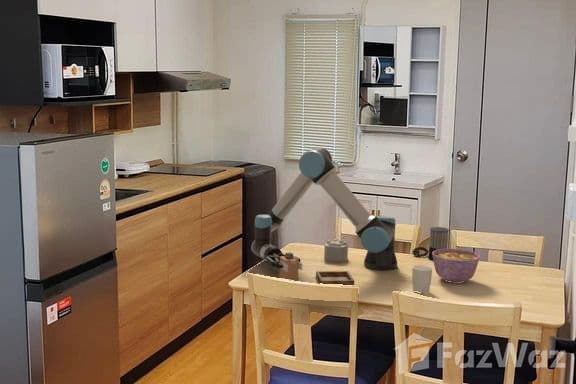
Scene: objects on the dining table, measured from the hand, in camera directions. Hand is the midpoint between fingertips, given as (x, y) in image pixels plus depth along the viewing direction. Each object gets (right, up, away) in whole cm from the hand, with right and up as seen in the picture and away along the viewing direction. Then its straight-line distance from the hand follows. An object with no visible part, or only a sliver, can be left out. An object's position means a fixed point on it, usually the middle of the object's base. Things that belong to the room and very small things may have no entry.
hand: (294, 267), depth 301 cm
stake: (-2, -5, +6) cm, 8 cm away
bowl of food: (+69, -7, +8) cm, 70 cm away
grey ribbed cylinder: (+65, 0, +45) cm, 79 cm away
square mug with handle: (-2, -5, +6) cm, 8 cm away
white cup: (+51, -9, -9) cm, 53 cm away
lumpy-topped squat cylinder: (+20, 0, +40) cm, 45 cm away
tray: (+17, -6, +3) cm, 18 cm away
